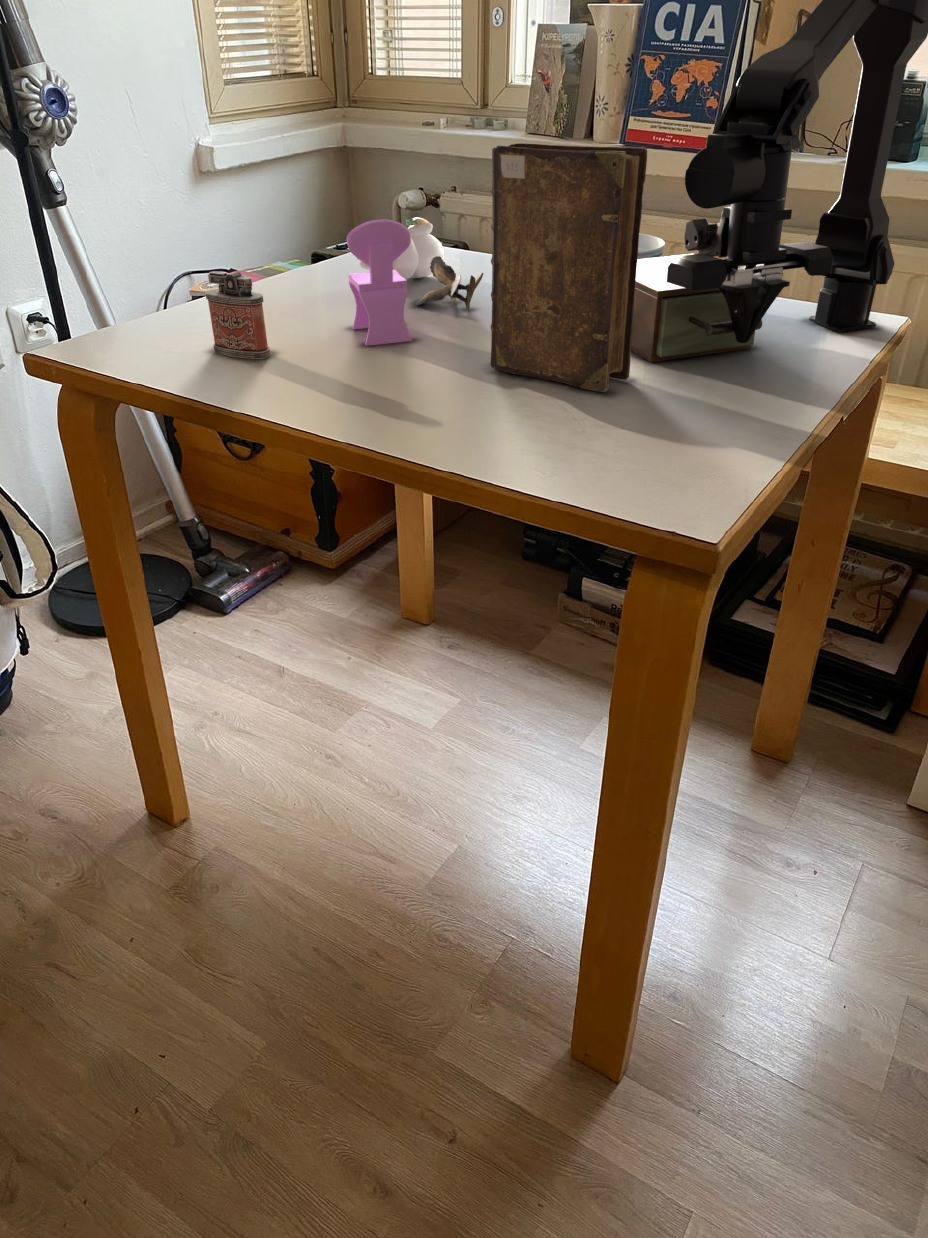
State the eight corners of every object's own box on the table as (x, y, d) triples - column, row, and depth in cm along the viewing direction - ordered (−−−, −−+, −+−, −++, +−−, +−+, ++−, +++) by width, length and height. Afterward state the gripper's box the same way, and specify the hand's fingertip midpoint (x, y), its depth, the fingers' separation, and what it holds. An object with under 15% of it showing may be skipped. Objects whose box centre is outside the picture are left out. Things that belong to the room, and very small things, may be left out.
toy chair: (402, 322, 132) (397, 207, 124) (419, 340, 125) (415, 219, 117) (344, 328, 130) (335, 211, 122) (358, 346, 123) (349, 224, 115)
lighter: (275, 352, 122) (265, 272, 116) (260, 360, 119) (249, 278, 114) (224, 345, 124) (212, 266, 119) (208, 352, 122) (195, 272, 116)
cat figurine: (440, 209, 153) (362, 209, 144) (464, 243, 150) (386, 245, 142) (419, 257, 160) (344, 259, 152) (442, 290, 158) (366, 295, 149)
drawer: (778, 356, 115) (788, 300, 112) (683, 370, 111) (690, 312, 108) (691, 315, 131) (697, 264, 127) (605, 325, 127) (609, 273, 123)
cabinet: (750, 348, 121) (761, 279, 116) (650, 362, 117) (658, 291, 112) (685, 316, 133) (693, 253, 129) (593, 328, 129) (597, 263, 124)
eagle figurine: (486, 292, 141) (433, 275, 143) (482, 257, 135) (427, 240, 137) (463, 330, 139) (410, 312, 141) (458, 297, 132) (402, 278, 135)
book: (483, 369, 115) (483, 142, 102) (515, 354, 120) (520, 135, 106) (603, 396, 107) (621, 153, 93) (632, 379, 112) (654, 145, 98)
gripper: (782, 185, 112) (765, 319, 120) (645, 197, 107) (637, 337, 115) (846, 194, 103) (824, 338, 111) (701, 208, 98) (688, 358, 106)
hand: (742, 342), depth 111 cm, fingers closed, pressing on drawer
